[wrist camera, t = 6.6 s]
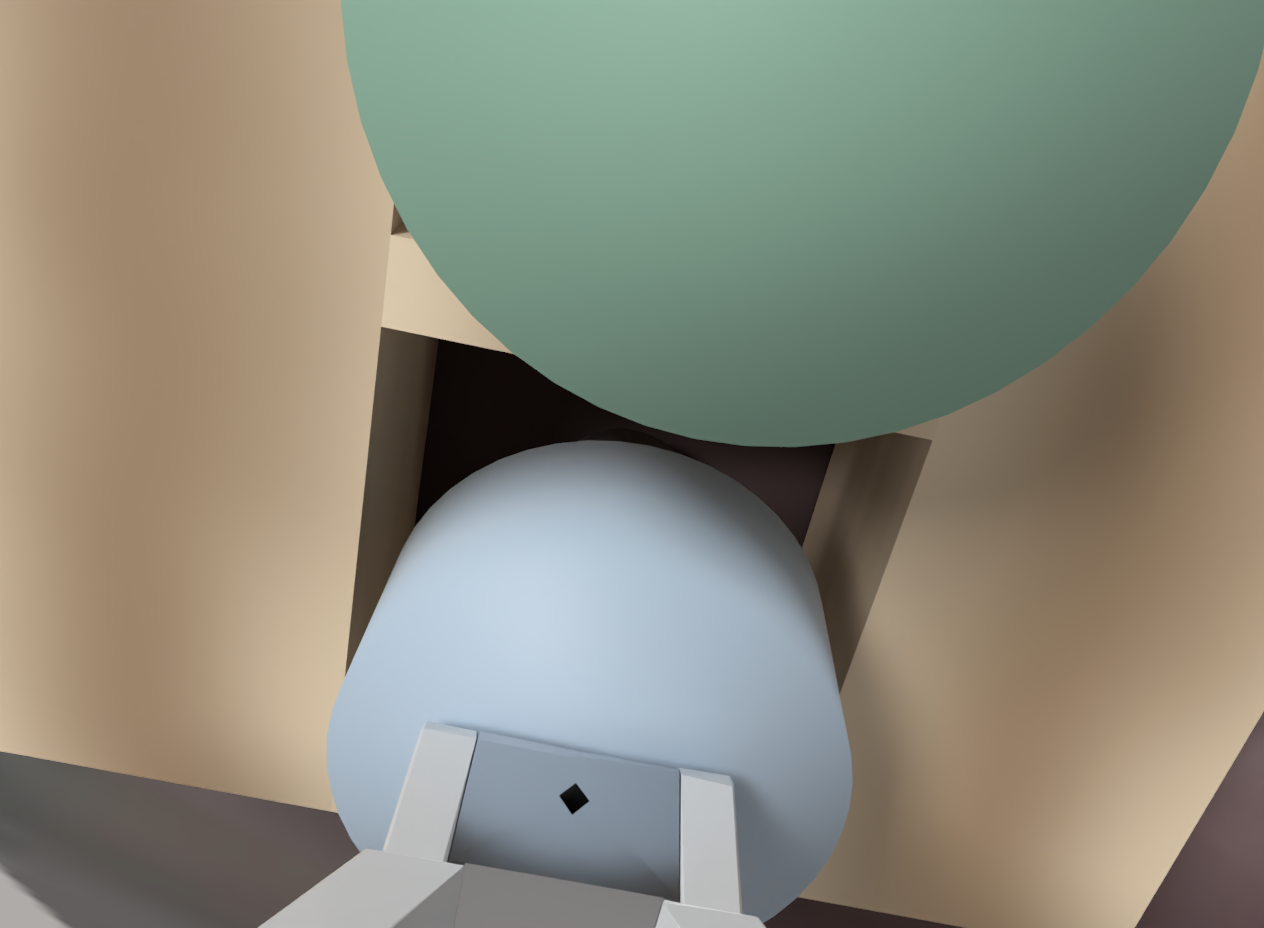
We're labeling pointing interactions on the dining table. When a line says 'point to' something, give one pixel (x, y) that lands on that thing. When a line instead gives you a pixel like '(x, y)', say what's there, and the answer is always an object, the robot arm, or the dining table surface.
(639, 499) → the button slate
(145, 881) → the dining table surface
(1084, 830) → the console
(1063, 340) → the button green
